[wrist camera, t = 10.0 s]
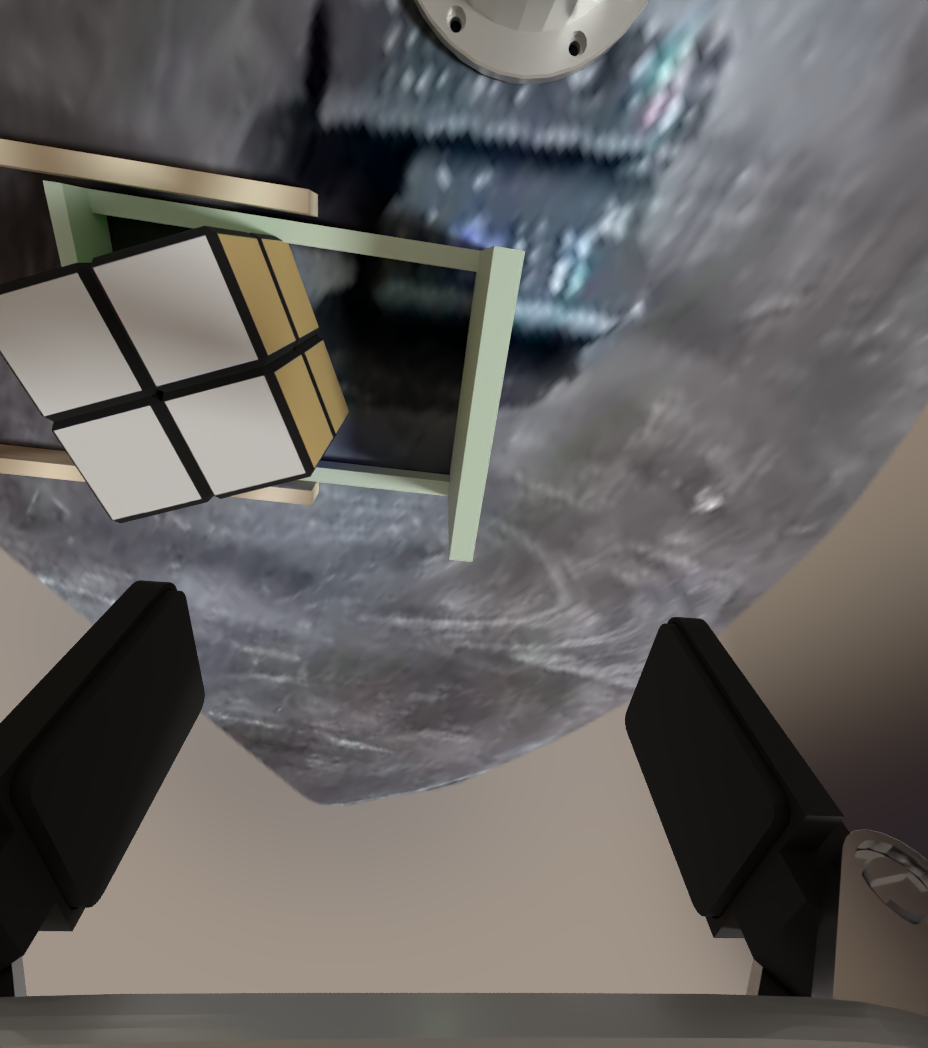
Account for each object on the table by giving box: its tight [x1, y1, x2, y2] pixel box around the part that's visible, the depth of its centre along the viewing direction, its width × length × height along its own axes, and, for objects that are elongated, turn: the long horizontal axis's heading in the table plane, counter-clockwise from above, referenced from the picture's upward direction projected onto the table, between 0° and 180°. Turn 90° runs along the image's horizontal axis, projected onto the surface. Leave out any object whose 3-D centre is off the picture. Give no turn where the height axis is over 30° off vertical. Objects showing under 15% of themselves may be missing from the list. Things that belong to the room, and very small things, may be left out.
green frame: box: [43, 180, 525, 562], centre depth 25 cm, size 21×14×9 cm, turn 82°
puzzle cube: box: [0, 226, 349, 523], centre depth 24 cm, size 10×10×10 cm
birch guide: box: [0, 139, 319, 505], centre depth 27 cm, size 23×17×2 cm
